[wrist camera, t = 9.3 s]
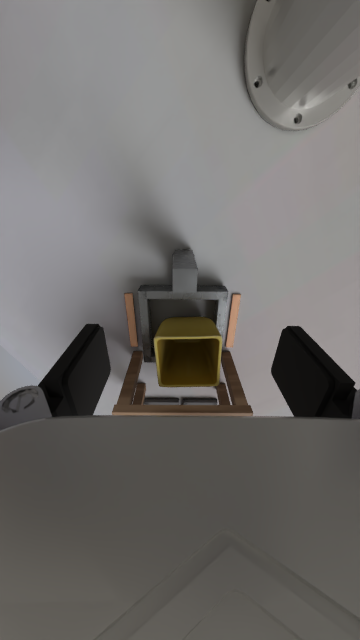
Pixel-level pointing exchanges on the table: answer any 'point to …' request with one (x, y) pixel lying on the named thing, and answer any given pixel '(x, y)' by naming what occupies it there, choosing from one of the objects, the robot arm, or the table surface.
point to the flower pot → (188, 352)
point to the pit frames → (176, 401)
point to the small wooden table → (223, 409)
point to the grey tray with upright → (179, 296)
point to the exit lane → (133, 324)
